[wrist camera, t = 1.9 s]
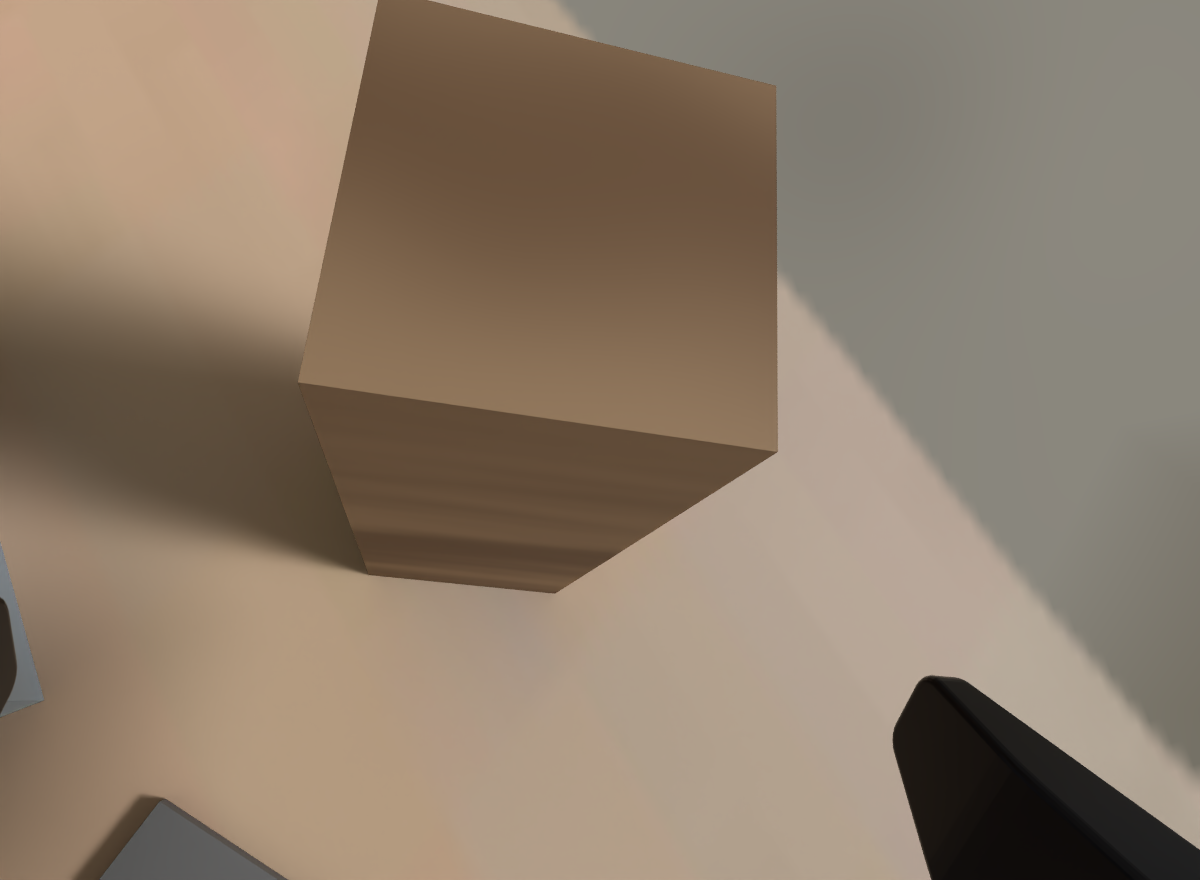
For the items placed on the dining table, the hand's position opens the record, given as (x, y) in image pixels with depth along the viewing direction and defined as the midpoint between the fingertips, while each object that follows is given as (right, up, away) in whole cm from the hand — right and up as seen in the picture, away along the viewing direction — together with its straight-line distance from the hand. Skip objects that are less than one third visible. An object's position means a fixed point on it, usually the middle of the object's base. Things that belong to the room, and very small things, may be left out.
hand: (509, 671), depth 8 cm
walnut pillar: (-2, +1, +12) cm, 12 cm away
